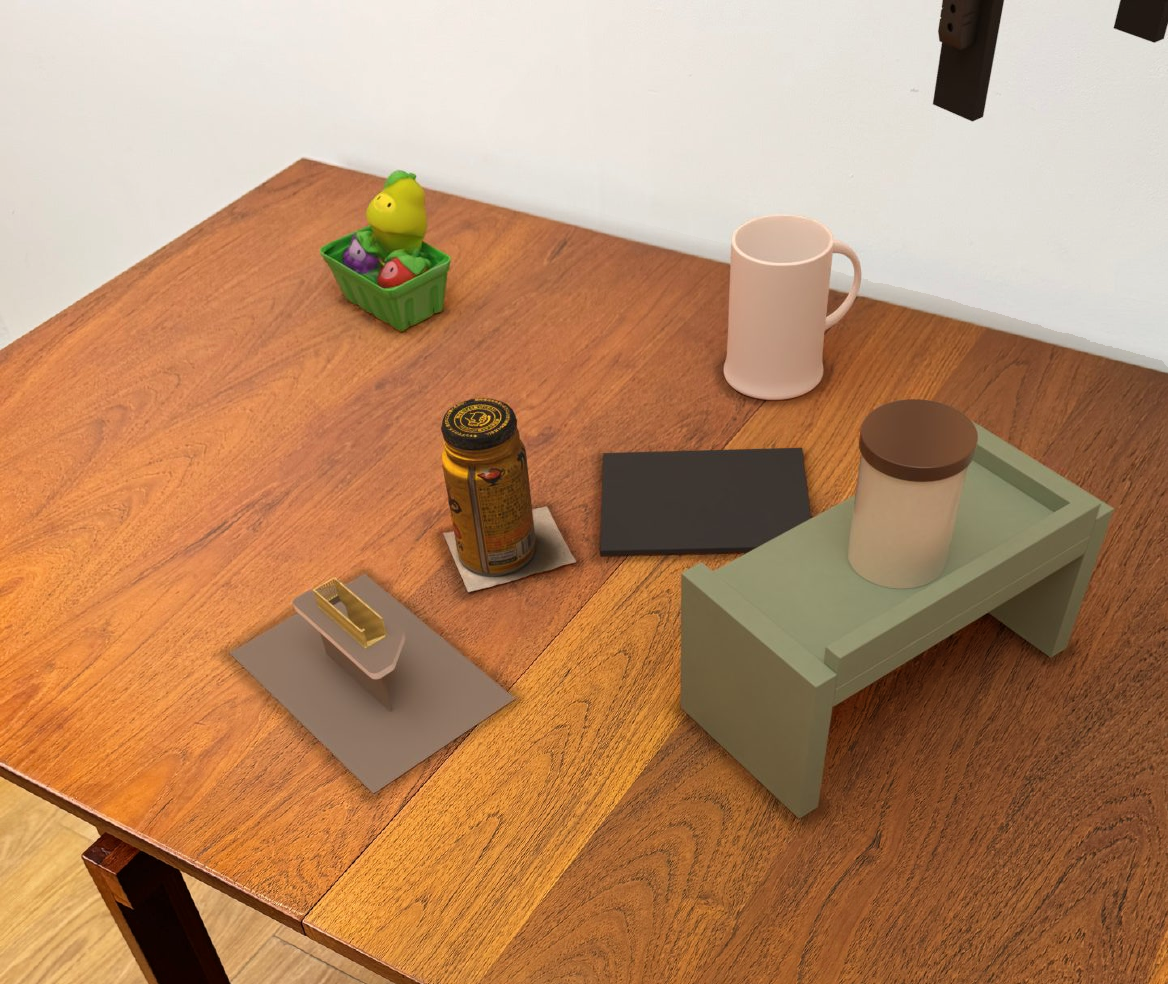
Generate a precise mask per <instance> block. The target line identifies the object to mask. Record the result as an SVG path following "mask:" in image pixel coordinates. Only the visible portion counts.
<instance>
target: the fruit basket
mask: <svg viewBox="0 0 1168 984" xmlns="http://www.w3.org/2000/svg"><path fill="white" fill-rule="evenodd" d="M416 179H417V175H416V174H415V173H413V172H408V173H407V172H406V171H405V170H402V169H397V170H394V171H393V172H391V173H390V174H389V176H388V177H387V179H386V181H385V183H384V185H383V190H381V191H380V192H379V193H378V194H376V195H375V196H374V197H373V199H371V201H370V203H369V204H368V206H367V208H366V212H365V217H366V220H367V222H368V224H369V225H367V226H365V227H362V228H360V229H357V230H354V231H353V232H350V233H348V234H345V235H343V236H341V237H339V238H337V239H335V240H331V241H330V242H328V243H327V244H325V245H323V246H321V247H320V248H319V250H318V251H319V254H320V256H321V257H322V259H323V261H324V262H325V263H326V264H327V266H328V267H329V270H330V271H331V273H332V275H333V277H334V279H335V281H336V283H337V285H338V286H339V288H340V290H341V293H342V294H343V296H344V299H345V300H347V301H348V302H350V303H352V304H353V305H357V306H358V307H359V308H360V309H361V310H363V311H364V312H367V313H368V314H371V315H374V317H375V318H377V319H379V320H380V321H382V322H383V323H386V324H389V325H390V326H391V327H392V328H393V329H395V330H396V331H398V332H400V333H401V332H404V331H406V330H407V329H408V328H409V327H412V326H415V325H418V324H420V323H421V322H424V321H425V320H428V319H430V318H431V317H432V316H433V315H434V314H438V313H441V312H443V310H444V305H445V295H446V288H447V280H448V272H449V270H450V266H451V260H452V258H451V255H449V254H447V253H445V252H443V251H441V250H439V249H437V248H436V247H434V246H432V245H431V244H428V243H427V242H426V241H424V238H425V237H426V234H427V230H428V217H427V216H428V215H427V211H426V206H425V205H426V193H425V190H424V188H423V187H422V186H421V184H420V183H419V182H418V181H417V180H416Z"/></svg>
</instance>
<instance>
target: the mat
mask: <svg viewBox="0 0 1168 984" xmlns="http://www.w3.org/2000/svg"><path fill="white" fill-rule="evenodd" d="M601 479H602V480H601V509H600V510H601V511H600V536H599V537H600V538H599V556H600V557H633V556H635V557H637V556H678V555H680V556H681V555H718V554H719V555H722V554H746V553H748V552H750V551H752V550H754V549H755V548H757V547H759V546H761V545H763V544H765V543H767V542H768V541H770V540H772V539H774V538H776V537H778V536H780V535H781V534H783V533H785V532H787V531H789V530H791V529H792V528H794V527H796V526H798V525H800V524H802V523H804V522H805V521H807V520H809V519H811V518H812V513H811V506H810V497H809V489H808V482H807V474H806V467H805V458H804V451H803V447H775V448H774V447H773V448H772V447H771V448H739V449H737V448H736V449H706V450H705V449H702V450H701V449H699V450H698V449H697V450H667V451H665V450H663V451H631V452H630V451H629V452H627V451H625V452H603V453H602V477H601Z"/></svg>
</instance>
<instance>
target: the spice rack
mask: <svg viewBox="0 0 1168 984" xmlns="http://www.w3.org/2000/svg"><path fill="white" fill-rule="evenodd" d="M971 421H972V422H973V424H974V425H975V427H976V430H977V434H978V441H977V446H976V450H975V455H974V458H973V460H972V462H971V463H970V464H969V465H968V470H967V474H966V479H965V483H964V488H963V492H962V497H961V501H960V506H959V510H958V515H957V519H956V524H955V528H954V533H953V538H952V542H951V547H950V551H949V556H948V560H947V564H946V567H945V569H944V571H943V572H942V574H941V575H940V576H939V577H938V578H937V579H935V580H934V581H932V582H930V583H928V584H926V585H923V586H920V587H916V588H909V589H895V588H888V587H883V586H879V585H876V584H874V583H871V582H869V581H867V580H866V579H864V578H863V577H861V576H860V575H859V574H857V573H856V571H855V570H854V569H853V568H852V566H851V565H850V563H849V560H848V556H847V551H848V544H849V536H850V529H851V522H852V515H853V508H854V500H855V494H854V495H852V496H850V497H847V499H843V501H840V502H839V503H837V504H835V505H833V506H831V507H829V508H827V509H826V510H823V511H822V512H821V513H819V514H817V515H815V516H812V517H811V519H809V520H807V521H805V522H804V523H802V524H800V525H798V526H796V527H794V528H792V529H791V530H789V531H787V532H785V533H783V534H781V535H780V536H778V537H776V538H774V539H772V540H770V541H768V542H767V543H765V544H763V545H761V546H759V547H757V548H755V549H754V550H752V551H750V552H748V553H743V554H742V555H741V556H739V557H737V558H734V559H733V560H731V561H730V562H728V563H726V564H724V565H722V566H720V567H718V568H716V569H714V570H712V569H711V568H709V567H708V566H707V565H706V564H705V563H703V562H702V561H701V562H699V563H696V564H695V565H693V566H691V567H690V568H688V569H685V570H684V571H682V572H681V573H680V697H679V699H680V700H679V701H680V703H679V704H680V705H679V706H680V709H681V710H683V712H684V713H686V714H687V715H688V716H689V717H690V718H691V719H692V720H693V721H694V722H695V723H696V724H697V725H699V726H700V727H701V728H702V729H703V730H704V731H705V732H706V733H707V734H708V735H709V736H710V737H711V738H712V739H714V740H715V742H717V744H718V745H720V746H721V747H722V748H723V750H725V751H726V752H727V753H728V754H729V755H730V756H732V758H733V759H734V760H735V761H737V762H738V763H739V765H741V766H742V767H743V768H744V769H745V770H746V771H747V772H748V773H749V774H751V775H752V776H753V777H754V779H755V780H757V781H758V782H759V783H760V784H761V785H762V787H763V788H765V789H766V790H767V791H769V792H770V793H771V794H772V795H773V796H774V797H775V798H776V799H777V800H778V801H779V802H780V803H781V804H782V805H783V806H784V807H785V808H786V809H787V810H789V812H791V813H792V814H793V815H794V817H796V818H797V819H799V820H800V819H802V818H803V817H805V816H806V815H808V814H810V813H811V812H812V811H814V810H816V809H817V808H819V803H820V796H821V789H822V782H823V781H822V780H823V774H824V770H825V769H824V767H825V760H826V754H827V747H828V741H829V734H830V727H831V721H832V720H831V719H832V713H833V707H835V706H837V705H840V703H842V702H843V701H845V700H847V699H848V698H850V697H851V696H854V695H855V694H857V693H858V692H860V691H861V690H863V689H865V688H866V687H868V686H870V685H872V684H873V683H875V682H876V681H879V680H880V679H881V678H883V677H885V676H886V675H888V674H889V673H891V672H893V671H895V670H896V669H898V668H899V667H902V666H903V665H904V664H906V663H908V662H909V661H911V660H913V659H914V658H916V657H917V656H919V655H921V654H922V653H924V652H927V650H928V649H930V648H932V647H934V646H936V645H937V644H939V643H940V642H942V641H944V640H945V639H947V638H949V637H950V636H952V635H953V634H955V633H957V632H958V631H960V630H962V629H963V628H965V627H967V626H968V625H971V624H972V623H973V622H975V621H976V620H978V619H979V618H981V617H983V616H985V615H986V614H989V615H990V616H992V617H993V618H994V619H996V620H997V621H999V622H1000V623H1002V624H1003V625H1004V626H1005V627H1007V628H1009V629H1010V630H1011V631H1013V632H1014V633H1015V634H1017V635H1018V636H1019V637H1021V638H1022V639H1023V640H1025V641H1027V643H1029V644H1031V645H1032V646H1033V647H1034V648H1036V649H1037V650H1039V651H1040V652H1042V653H1043V654H1044V655H1046V656H1047V657H1049V658H1050V659H1052V658H1053V657H1055V656H1056V655H1058V654H1060V653H1061V652H1063V651H1065V650H1066V649H1067V648H1068V645H1069V642H1070V639H1071V637H1072V633H1073V631H1074V628H1075V626H1076V625H1075V624H1076V622H1077V619H1078V616H1079V612H1080V610H1081V607H1082V604H1083V602H1084V598H1085V595H1086V592H1087V590H1088V586H1089V583H1090V580H1091V577H1092V574H1093V572H1094V569H1095V565H1096V564H1097V560H1098V558H1099V554H1100V551H1101V548H1102V546H1103V542H1104V540H1105V537H1106V534H1107V530H1108V528H1109V525H1110V522H1111V520H1112V516H1113V513H1114V510H1115V508H1114V507H1112V506H1111V505H1109V504H1108V503H1106V502H1104V501H1102V500H1101V499H1099V498H1097V497H1096V496H1095V495H1093V494H1091V493H1090V492H1088V491H1086V490H1085V489H1083V488H1081V487H1080V486H1078V485H1077V484H1075V483H1074V482H1072V481H1070V480H1069V479H1067V478H1066V477H1064V476H1062V475H1061V474H1059V473H1058V472H1056V471H1054V470H1052V469H1051V468H1049V467H1048V466H1046V465H1044V464H1042V463H1041V462H1040V461H1038V460H1036V459H1035V458H1033V457H1032V456H1030V455H1028V454H1026V453H1025V452H1023V451H1022V450H1020V449H1018V448H1017V447H1016V446H1014V445H1012V444H1010V443H1009V442H1007V441H1006V440H1004V439H1002V438H1001V437H999V436H997V435H995V433H992V432H991V431H990V430H987V429H986V428H985V427H983V426H981V425H979V424H978V423H977V422H975V421H973V420H971Z"/></svg>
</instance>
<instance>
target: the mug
mask: <svg viewBox="0 0 1168 984" xmlns="http://www.w3.org/2000/svg"><path fill="white" fill-rule="evenodd" d="M834 254H839V255H843V256H844V257H847V259H849V260H850V262H851V263H852V267H853V281H852V284H851V285H852V286H851V287H850V290H849V293H848V294H847V296H846V298H845V299H844V301H843V302H842V303H841V304H840V306H839V307H837V308H836V310H835V311H833V312H832V313H830V314H829V315H827V313H828V302H829V293H830V283H831V275H832V274H831V273H832V265H833V255H834ZM729 264H730V268H729V290H728V291H729V294H728V296H729V297H728V320H727V342H726V343H727V344H726V345H727V346H726V355H725V357H726V358H725V361H724V364H723V375H724V378H725V380H726V382H727V383H728V385H729V386H730V387H732V389H733V390H735V391H737V392H739V393H740V394H742V395H743V396H746V397H750V398H753V399H758V400H765V401H782V400H783V401H784V400H789V399H790V400H791V399H794V398H798V397H801V396H803V395H805V394H808V393H810V392H811V391H813V390H814V389H815V388H816V387H817V386H818V385H819V384H820V382H821V381H822V379H823V376H824V363H823V351H824V342H825V341H824V340H825V331H827V330H829V329H831V328H832V327H833V326H834V325H836V324H837V323H838V322H839V321H841V320H842V318H843V317H844V316H845V315H846V314H847V313H848V312H849V311H850V309H851V307H852V306H853V305H854V302H855V300H856V299H857V296H858V294H859V290H860V288H861V283H862V265H861V261H860V259H859V257H858V255H857V253H856V251H854V249H853V248H852V247H851V246H850V245H849V244H847V243H845V242H843V241H841V240H838V239H835V238H834V234H833V231H831V229H830V228H829V227H828V226H827V225H825V224H824V223H822V222H820V221H818V220H816V219H813V218H810V217H807V216H804V215H797V214H787V213H785V214H784V213H777V214H769V215H768V214H767V215H763V216H759V217H755V218H752V219H750V220H748V221H746V222H744V223H742V224H741V225H739V226H738V227H737V228H736V229H735V230H734V232H733V233H732V236H731V242H730V263H729Z"/></svg>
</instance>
